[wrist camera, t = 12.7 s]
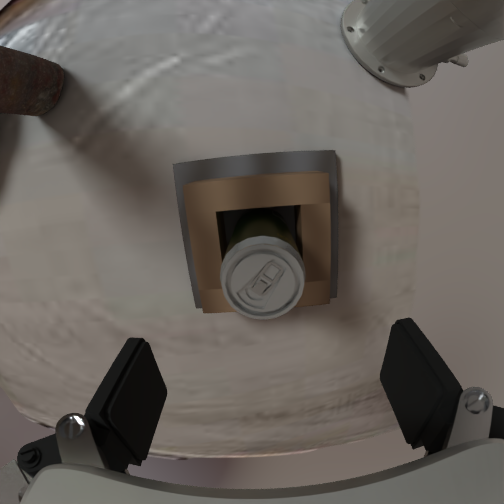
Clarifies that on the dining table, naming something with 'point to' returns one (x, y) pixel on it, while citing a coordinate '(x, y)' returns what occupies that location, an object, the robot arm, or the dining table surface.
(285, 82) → the dining table surface
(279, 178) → the well block
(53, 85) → the brown cylinder
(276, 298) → the beer can
